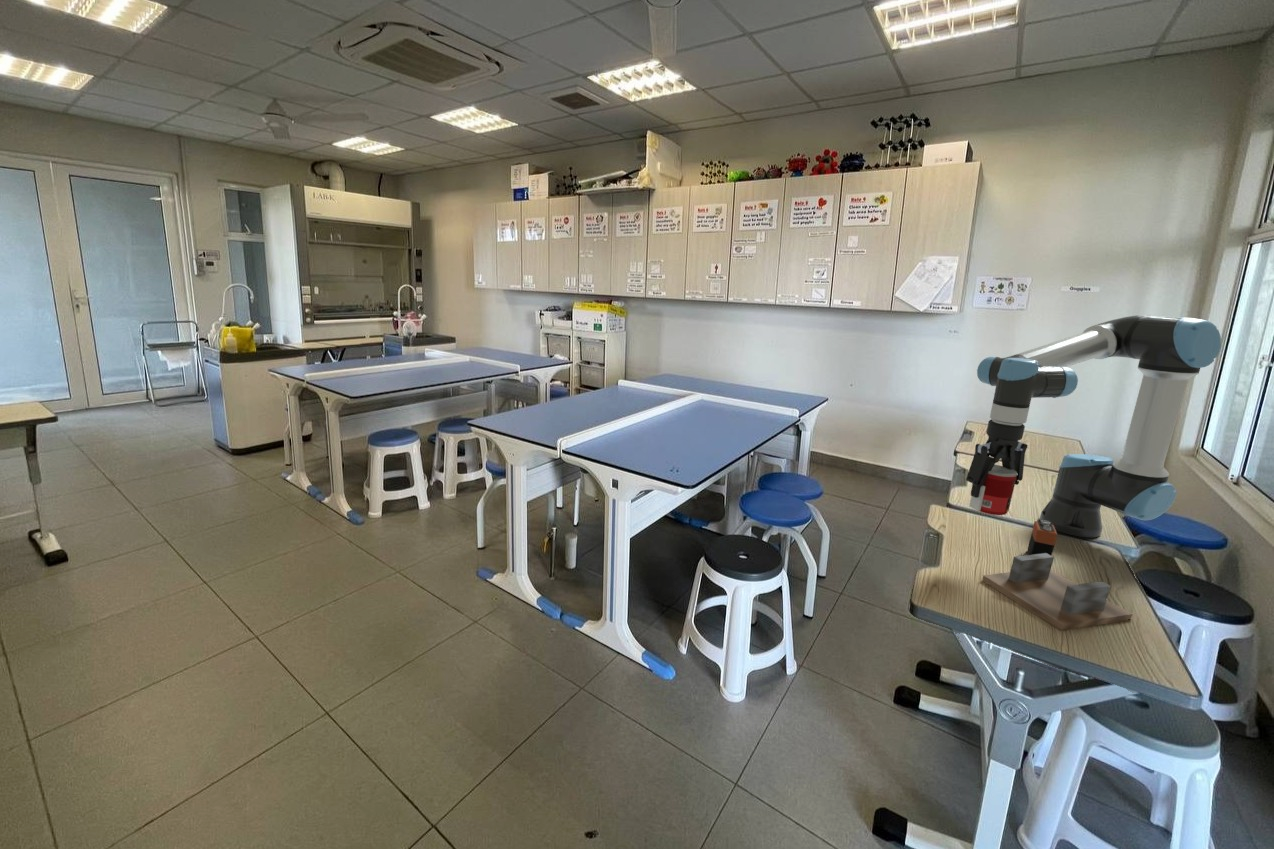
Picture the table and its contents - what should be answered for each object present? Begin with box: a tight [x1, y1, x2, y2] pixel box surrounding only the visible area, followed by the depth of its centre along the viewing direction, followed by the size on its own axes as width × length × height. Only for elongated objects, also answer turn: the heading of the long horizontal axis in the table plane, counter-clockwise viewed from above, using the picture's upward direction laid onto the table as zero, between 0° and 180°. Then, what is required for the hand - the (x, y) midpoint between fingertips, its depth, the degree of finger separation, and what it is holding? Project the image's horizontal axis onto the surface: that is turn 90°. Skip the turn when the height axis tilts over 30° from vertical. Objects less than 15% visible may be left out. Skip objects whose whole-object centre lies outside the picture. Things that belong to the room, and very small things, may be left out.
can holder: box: [981, 553, 1133, 631], centre depth 126 cm, size 20×20×8 cm
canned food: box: [979, 464, 1018, 516], centre depth 137 cm, size 8×8×11 cm
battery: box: [1027, 520, 1058, 556], centre depth 145 cm, size 4×7×10 cm, turn 150°
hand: (988, 507), depth 138 cm, fingers closed on canned food, 8 cm apart
